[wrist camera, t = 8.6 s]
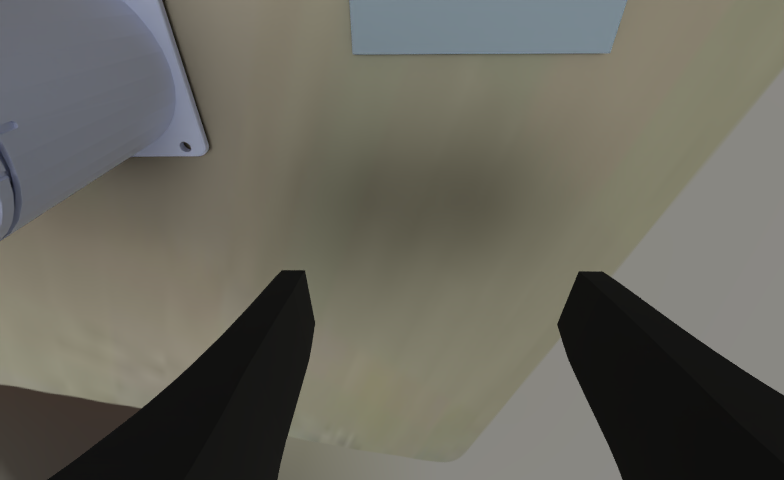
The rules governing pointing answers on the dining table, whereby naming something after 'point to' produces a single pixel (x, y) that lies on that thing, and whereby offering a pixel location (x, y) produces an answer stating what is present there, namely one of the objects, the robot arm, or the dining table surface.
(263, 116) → the dining table surface
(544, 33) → the mat
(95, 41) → the robot arm
